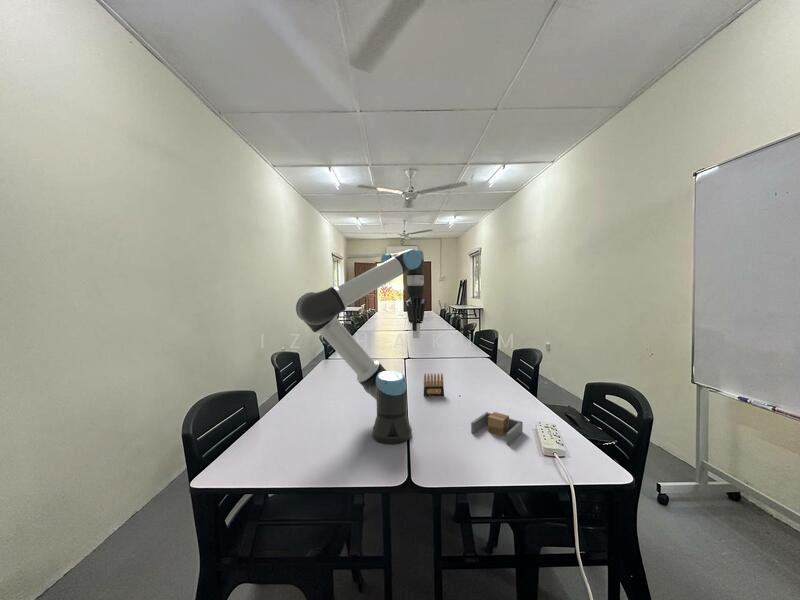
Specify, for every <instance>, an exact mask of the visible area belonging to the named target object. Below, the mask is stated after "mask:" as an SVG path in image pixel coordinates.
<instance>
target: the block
mask: <svg viewBox="0 0 800 600" xmlns="http://www.w3.org/2000/svg"><path fill="white" fill-rule="evenodd" d="M509 418H510V415H509V414H504V413H500V412H497V411H493V412H492V413H491V415H489V416H488V423H487V432H489V433H492V434H495V435H499V436H502V437H504V436H505V435H507V434H506V433H507V432H508V431H510V429H509Z"/></svg>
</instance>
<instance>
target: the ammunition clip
mask: <svg viewBox="0 0 800 600" xmlns="http://www.w3.org/2000/svg"><path fill="white" fill-rule="evenodd" d="M433 375H434V376H433ZM444 387H445V386H444V375H443V373H442V372H441V374H440V373H434V374H433V373H430V374H429V373H427V374H426V373H424V375H423V397H444V396H445V389H444Z"/></svg>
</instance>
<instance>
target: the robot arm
mask: <svg viewBox="0 0 800 600" xmlns="http://www.w3.org/2000/svg"><path fill="white" fill-rule="evenodd" d="M424 265H425V257H424V251H422V250H421V249H412V248H411V249H407V250H404V251H400V252H395V253H384V254H382V256H381V258H380V263H379V264H378V265H376V266H374V267H372V268H370V269H368V270H367V271H365V272H363V273H361V274H359V275H357V276H356V277H353V278H351V279H350V280H348V281H346V282H344V283H342V284H340V285H339V286H337V287H336V286H330V287H329V288H327V289H324V290H321V291H318V292H311V291H310V292H307V293H304V294H303V295H301V297H299V298H298V299H297V303H296V304H295V312H296V315H297V317H298V318H299V319H300V320H301V321H303V322H304V323H305V324H306V325H307V326H308V327H309V329H310V330H311V331H312V332H313V333H314V334H320V335H321V336H322V337H323V338H324V339H325V340H326V341H327V343H328V344H329V345H330V346H331V347H332V348H333V349H334V350H335V351H336V353H337V354H338V355H339V356H340V357H341V358H342V360H343V361H345V363H346V364H347V365H348V366H349V367H350V369H352V371H353V372H354V373H355V374H356V376H357V377H356V381H357V382H358V383H359V384H360V385H361V386H362V388H363V390H364V391H365V392H366V393H367V394H369V395H370V396H371V397H372V398H374V400H375V401H376V416H375V421H374V424H373V427H372V438H373V440H375V441H376V442H378V443H380V444H385V445H397V444H402V443H405V442H407V441H409V440H410V439H411V438H412V435H413V432H412V431H413V429H412V426H411V424H410V420H409V416H408V401H407V400H408V395H407V392H408V389H407V387H408V383H407V378H406V376H405V375H404V374H403V373H402V372H400V371H395V370H387V369H386V368H385V367H384V366H383V365H382V364H381V362H379V360H373V359H372V357H371V356H370V355H369V354H368V353H367V352H366V351H365V350H364V348H363V347H362V346H361V345H360V344H359V343H358V341H357V340H356V339H355V338H354V337H353V336H352V335H351V333H350V332H349V331H348V330H347V329H346V327H344V325H343V324H342V323H341V321H340V320H339V319H338V315H339V314H342V313H343V312H344V311H346V310H347V307H348V306H350V305H351V304H353V303H354V302H356V301H358V300H360V299H361V298H362V299H363V298H364V297H365V296H367V295H368V294H370V293H372V292H374V291H376V290H377V289H379V288H380V287H382V286H384V285H387V284H388V283H389V282H392V281H393V280H394V279H396V278H398V277H400V276H401V275H403V274H405V273H406V284H407V287H406V294H408V300H405V301H404V304H405V305H404V306H405V307H406V313H407V318H408V323H410V324H411V327H412V329H411V330H412V338H413V339H420V338H421V334H420V332H421V324H423V321H424V319H425V318H424V317H425V311H426V304H427V300H425V299H424V296H423V295H424V294H425V286H424V284H425V281H424V280H425V271H424V270H425V266H424Z"/></svg>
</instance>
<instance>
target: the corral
mask: <svg viewBox="0 0 800 600" xmlns="http://www.w3.org/2000/svg"><path fill="white" fill-rule="evenodd" d="M491 414H492V413H490V412H487V411H486V412H484V413H483V414H481V415H480V416H478V417H477V418H475V419H474V420H473V421H471V423H470V426H471V427H470V428H471V429H470V430H471V431H470V433H472V434H475V433H476V432H477V431H479V430H480V429H482V428H483V427H485V426H486V425H488V416H489V415H491ZM523 425H524V424H523V421H521V420H518V419H514V418H510V417H509V431H508V432H507V433H506V434H505V435H506V445H508V446H510V445H511V444H512V443H513V442H514V441H516V439H517V438H518V437H519V436H520V435H522V433H523V427H524V426H523Z"/></svg>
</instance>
